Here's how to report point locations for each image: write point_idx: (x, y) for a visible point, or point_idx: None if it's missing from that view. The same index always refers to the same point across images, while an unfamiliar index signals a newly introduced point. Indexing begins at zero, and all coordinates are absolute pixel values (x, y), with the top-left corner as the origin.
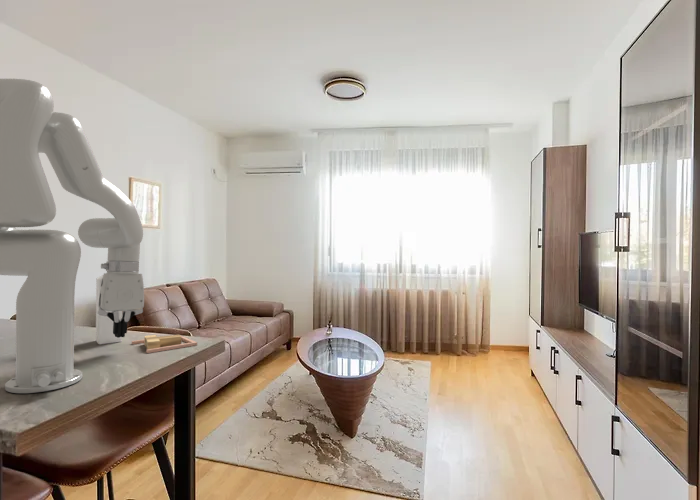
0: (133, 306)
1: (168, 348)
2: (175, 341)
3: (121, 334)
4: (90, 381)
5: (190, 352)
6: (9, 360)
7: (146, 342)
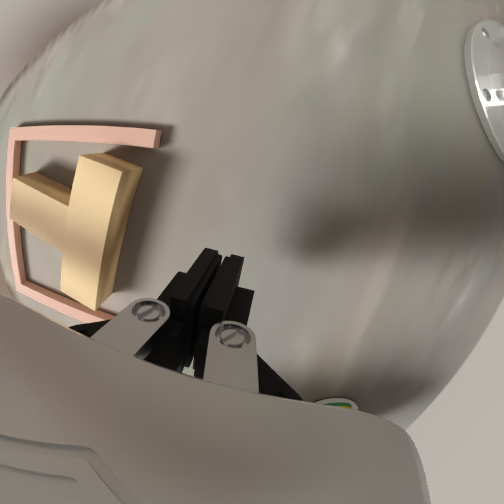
0: (18, 333)
1: (83, 125)
2: (37, 180)
3: (218, 264)
4: (451, 4)
5: (73, 40)
6: (440, 388)
7: (113, 231)
